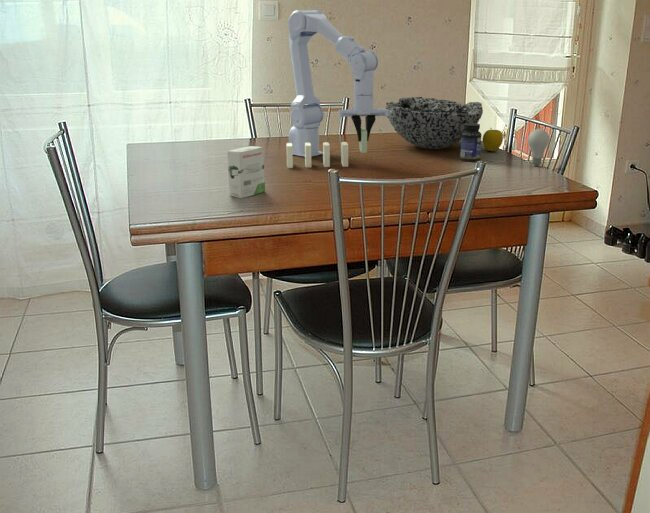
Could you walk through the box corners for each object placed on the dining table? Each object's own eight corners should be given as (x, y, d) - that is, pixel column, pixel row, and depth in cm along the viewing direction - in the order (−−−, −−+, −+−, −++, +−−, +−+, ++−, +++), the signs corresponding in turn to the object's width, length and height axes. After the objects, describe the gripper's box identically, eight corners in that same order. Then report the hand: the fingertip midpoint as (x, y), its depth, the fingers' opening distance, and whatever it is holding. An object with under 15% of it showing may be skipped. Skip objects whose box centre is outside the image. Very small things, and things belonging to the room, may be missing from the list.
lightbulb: (547, 164, 217) (551, 128, 213) (546, 169, 211) (550, 131, 208) (526, 163, 219) (529, 127, 215) (524, 167, 213) (528, 130, 210)
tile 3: (324, 167, 216) (324, 145, 214) (323, 163, 221) (323, 142, 219) (329, 167, 216) (329, 145, 214) (328, 163, 221) (328, 142, 219)
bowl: (374, 153, 235) (375, 106, 230) (398, 137, 263) (400, 95, 258) (471, 159, 225) (474, 110, 220) (486, 142, 253) (489, 98, 248)
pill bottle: (479, 162, 221) (482, 126, 217) (459, 161, 222) (461, 125, 218) (479, 158, 227) (482, 122, 223) (460, 157, 228) (462, 122, 224)
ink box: (252, 189, 191) (251, 144, 187) (266, 192, 188) (264, 146, 184) (228, 195, 184) (226, 149, 181) (242, 198, 181) (239, 152, 178)
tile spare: (361, 153, 216) (361, 131, 213) (359, 149, 220) (359, 128, 218) (366, 153, 216) (367, 131, 213) (364, 149, 220) (364, 128, 218)
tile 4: (342, 166, 216) (342, 145, 214) (341, 163, 221) (341, 142, 219) (348, 166, 216) (348, 144, 214) (346, 163, 221) (346, 141, 219)
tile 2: (306, 167, 216) (305, 145, 213) (305, 164, 220) (304, 142, 218) (311, 167, 216) (311, 145, 214) (310, 163, 220) (310, 142, 218)
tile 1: (287, 168, 215) (286, 146, 213) (286, 164, 220) (286, 143, 218) (292, 167, 215) (292, 146, 213) (292, 164, 220) (291, 143, 218)
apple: (480, 152, 235) (481, 128, 232) (483, 149, 240) (485, 125, 238) (500, 154, 233) (502, 129, 230) (503, 150, 238) (505, 126, 236)
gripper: (340, 96, 208) (340, 143, 213) (390, 95, 209) (389, 142, 214) (337, 93, 215) (338, 139, 219) (386, 92, 216) (385, 138, 220)
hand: (363, 140), depth 217 cm, fingers closed on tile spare, 1 cm apart
